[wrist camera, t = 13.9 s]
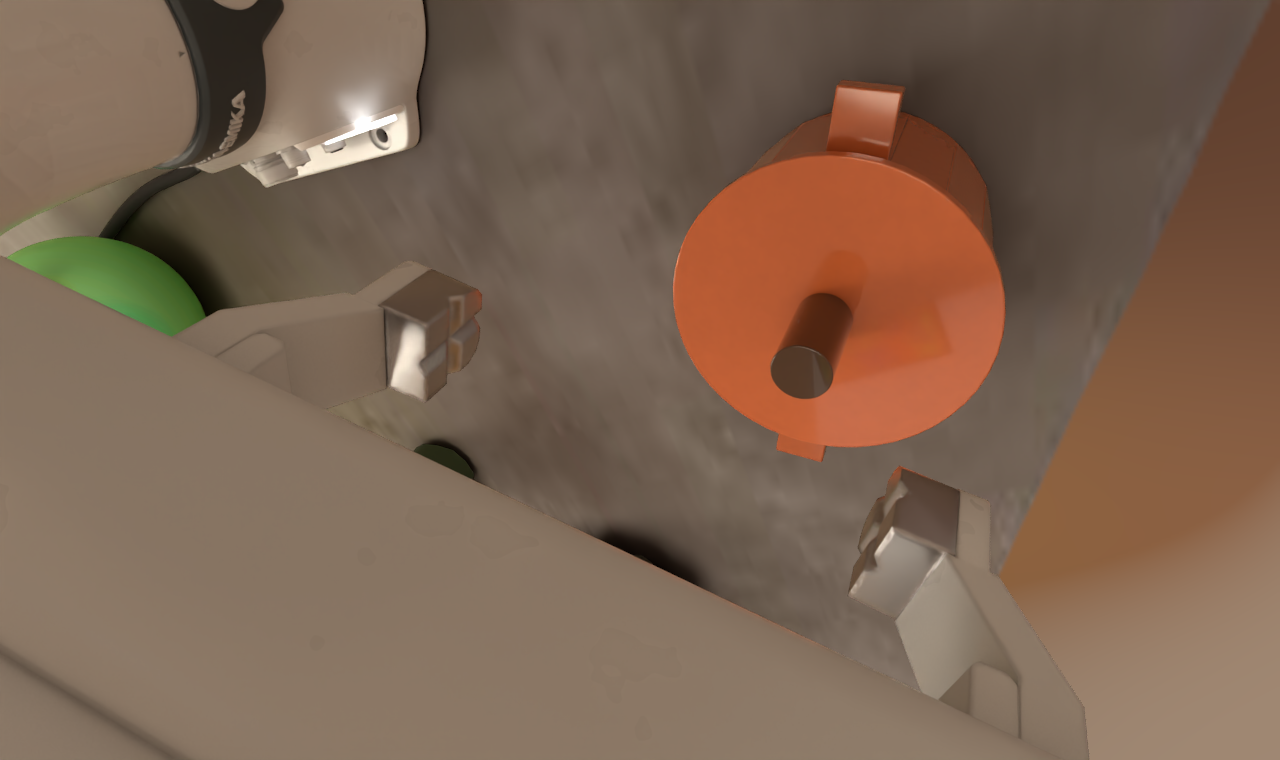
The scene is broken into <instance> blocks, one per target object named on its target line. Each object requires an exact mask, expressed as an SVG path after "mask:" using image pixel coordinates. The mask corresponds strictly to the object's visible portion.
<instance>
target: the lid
mask: <svg viewBox="0 0 1280 760" xmlns="http://www.w3.org/2000/svg"><path fill="white" fill-rule="evenodd" d="M673 303H674V310H675V316H676V322H677V325H678V328H679V332H680V335H681V338H682V340H683V343H684V345H685V347H686V350H687V352H688V354H689V356H690V357H691V359H692V361H693V363H694V364H695V366H696V368H697V369H698V371H699V372H700V373H701V375H702V376H703V377H704V379H705V380H706V381H707V383H708V384H709V385H710V386H711V387H712V388H713V389H714V390H715V391H716V392H717V393H718V394H719V395H720V396H721V397H722V398H723V399H724V400H725V401H726V402H728V403H729V404H730V405H731V406H732V407H733V408H735V409H736V410H738V411H739V412H740V413H742V414H743V415H745V416H746V417H748V418H749V419H751V420H753V421H754V422H756V423H758V424H760V425H762V426H763V427H765V428H767V429H770V430H772V431H774V432H777V433H779V434H781V435H784V436H787V437H790V438H793V439H797V440H800V441H804V442H809V443H813V444H818V445H825V446H834V447H865V446H875V445H881V444H886V443H891V442H896V441H899V440H902V439H905V438H908V437H911V436H914V435H917V434H919V433H921V432H923V431H925V430H927V429H930V428H932V427H934V426H935V425H937V424H938V423H940V422H942V421H943V420H945V419H946V418H948V417H949V416H951V415H952V414H953V413H954V412H956V411H957V410H958V409H959V408H960V407H962V406H963V405H964V404H965V403H966V402H967V401H968V400H969V399H970V398H971V397H972V395H973V394H974V393H975V392H976V391H977V390H978V389H979V387H980V386H981V384H982V383H983V381H984V380H985V378H986V377H987V375H988V374H989V372H990V370H991V368H992V366H993V364H994V361H995V359H996V357H997V355H998V352H999V348H1000V345H1001V341H1002V338H1003V334H1004V324H1005V315H1006V304H1005V287H1004V283H1003V278H1002V274H1001V269H1000V265H999V263H998V260H997V258H996V255H995V253H994V250H993V248H992V245H991V244H990V242H989V240H988V239H987V237H986V235H985V234H984V232H983V230H982V228H981V227H980V225H979V224H978V223H977V222H976V220H975V219H974V218H973V217H972V215H971V214H970V213H969V212H968V211H967V209H966V208H965V207H964V206H963V205H962V204H961V203H960V202H958V201H957V200H956V199H955V198H954V197H953V196H952V195H951V194H950V193H949V192H948V191H946V190H945V189H943V188H942V187H940V186H939V185H937V184H936V183H935V182H933V181H932V180H930V179H929V178H927V177H925V176H923V175H921V174H920V173H918V172H916V171H914V170H912V169H910V168H908V167H906V166H903V165H900V164H897V163H894V162H892V161H889V160H886V159H883V158H879V157H874V156H870V155H865V154H860V153H852V152H838V151H826V152H808V153H803V154H798V155H793V156H787V157H784V158H781V159H778V160H775V161H772V162H769V163H765V164H763V165H761V166H759V167H757V168H755V169H753V170H751V171H749V172H747V173H745V174H743V175H742V176H740V177H739V178H737V179H736V180H734V181H733V182H731V183H730V184H728V185H727V186H726V187H725V188H724V189H723V190H722V191H720V192H719V193H718V194H717V195H716V196H715V197H714V198H713V199H712V200H711V201H710V202H709V203H708V204H707V206H706V207H705V208H704V209H703V210H702V212H701V213H700V214H699V215H698V216H697V218H696V219H695V221H694V223H693V224H692V226H691V228H690V229H689V231H688V232H687V234H686V237H685V239H684V241H683V244H682V246H681V248H680V251H679V255H678V259H677V262H676V266H675V273H674V282H673Z"/></svg>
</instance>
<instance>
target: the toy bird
mask: <svg viewBox="0 0 1280 760" xmlns="http://www.w3.org/2000/svg"><path fill="white" fill-rule="evenodd" d="M7 258H8V259H10V260H12V261H14V262H16V263H18V264H20V265H22V266H24V267H26V268H28V269H30V270H32V271H34V272H36V273H38V274H40V275H42V276H44V277H46V278H49V279H51V280H53V281H55V282H57V283H59V284H61V285H63V286H65V287H68V288H70V289H72V290H74V291H76V292H78V293H80V294H82V295H84V296H86V297H89V298H91V299H93V300H95V301H97V302H99V303H101V304H103V305H105V306H108V307H110V308H112V309H114V310H116V311H118V312H120V313H122V314H124V315H126V316H129V317H131V318H133V319H135V320H137V321H139V322H141V323H143V324H145V325H148V326H150V327H152V328H154V329H156V330H158V331H160V332H162V333H164V334H166V335H169V336H171V337H172V336H174V335H176V334H177V333H179V332H181V331H183V330H185V329H186V328H188V327H190V326H192V325H193V324H195V323H197V322H199V321H201V320H202V319H204V318H206V316H205V313H204V311H203V308H202V306H201V304H200V302H199V300H198V298H197V297H196V295H195V294H194V292H193V291H192V289H191V288H190V287H189V285H188V284H187V283H186V282H185V280H184V279H183V278H182V277H181V276H180V275H179V274H178V273H177V272H176V271H175V270H174V269H172V268H171V267H170V266H169V265H168V264H166V263H165V262H164V261H162V260H161V259H159V258H158V257H156V256H154V255H153V254H151V253H149V252H147V251H145V250H143V249H141V248H139V247H136V246H133V245H131V244H128V243H124V242H121V241H117V240H112V239H107V238H100V237H86V236H78V237H64V238H57V239H51V240H47V241H43V242H39V243H36V244H33V245H30V246H28V247H25V248H23V249H21V250H19V251H17V252H15V253H13V254H12V255H10V256H8V257H7Z"/></svg>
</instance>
